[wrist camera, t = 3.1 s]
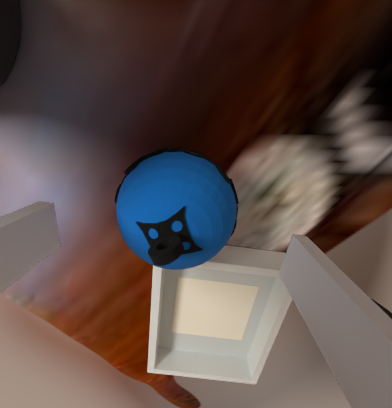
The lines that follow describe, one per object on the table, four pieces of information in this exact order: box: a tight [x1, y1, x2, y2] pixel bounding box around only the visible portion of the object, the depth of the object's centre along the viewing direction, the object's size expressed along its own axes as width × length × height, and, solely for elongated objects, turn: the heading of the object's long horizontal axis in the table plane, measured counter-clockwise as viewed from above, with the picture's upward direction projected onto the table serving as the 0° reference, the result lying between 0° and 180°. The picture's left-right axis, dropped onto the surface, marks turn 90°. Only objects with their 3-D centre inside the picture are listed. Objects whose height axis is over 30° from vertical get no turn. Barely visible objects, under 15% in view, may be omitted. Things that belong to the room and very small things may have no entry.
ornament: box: [115, 147, 239, 270], centre depth 13 cm, size 9×9×10 cm
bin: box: [147, 245, 292, 384], centre depth 21 cm, size 14×18×3 cm
